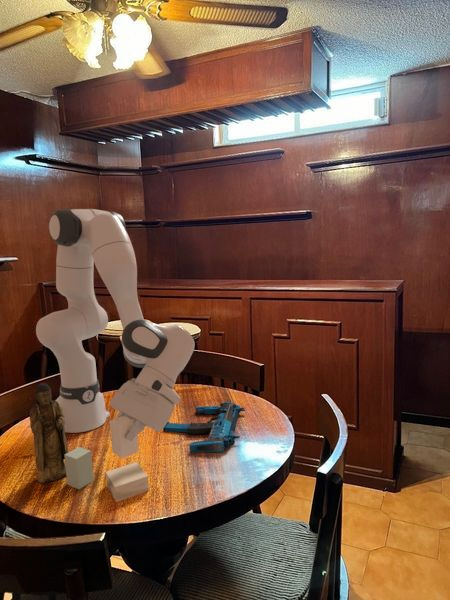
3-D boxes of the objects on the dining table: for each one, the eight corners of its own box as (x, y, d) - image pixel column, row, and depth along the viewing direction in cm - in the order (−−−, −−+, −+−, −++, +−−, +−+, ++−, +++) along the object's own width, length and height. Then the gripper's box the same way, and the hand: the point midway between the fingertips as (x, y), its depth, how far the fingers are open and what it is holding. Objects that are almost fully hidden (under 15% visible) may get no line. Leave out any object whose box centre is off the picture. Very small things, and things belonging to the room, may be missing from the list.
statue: (27, 488, 107) (16, 392, 103) (45, 468, 116) (35, 379, 112) (63, 488, 106) (53, 391, 103) (78, 468, 115) (69, 378, 112)
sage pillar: (67, 484, 108) (64, 454, 107) (81, 475, 112) (79, 446, 110) (79, 489, 106) (76, 459, 104) (93, 480, 109) (91, 450, 108)
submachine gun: (178, 397, 156) (247, 394, 153) (180, 407, 157) (248, 405, 153) (150, 443, 123) (237, 440, 119) (152, 455, 123) (239, 453, 120)
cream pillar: (112, 452, 104) (109, 420, 103) (128, 445, 107) (126, 414, 106) (121, 458, 101) (118, 426, 100) (138, 451, 104) (135, 419, 103)
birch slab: (106, 486, 107) (105, 471, 106) (137, 476, 111) (136, 462, 110) (116, 503, 100) (115, 487, 99) (149, 491, 104) (147, 476, 103)
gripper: (123, 370, 114) (92, 417, 109) (168, 388, 99) (134, 443, 94) (139, 382, 117) (109, 428, 112) (185, 401, 102) (153, 455, 97)
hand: (121, 435), depth 103 cm, fingers closed on cream pillar, 4 cm apart
